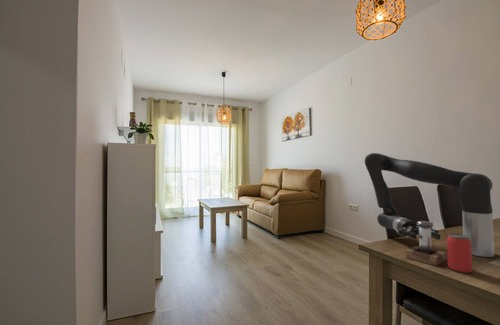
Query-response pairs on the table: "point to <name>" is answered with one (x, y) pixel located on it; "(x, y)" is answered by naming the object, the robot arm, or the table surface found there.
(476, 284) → the table surface
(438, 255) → the socket block
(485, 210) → the robot arm
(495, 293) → the table surface
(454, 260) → the beer can
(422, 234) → the pin
